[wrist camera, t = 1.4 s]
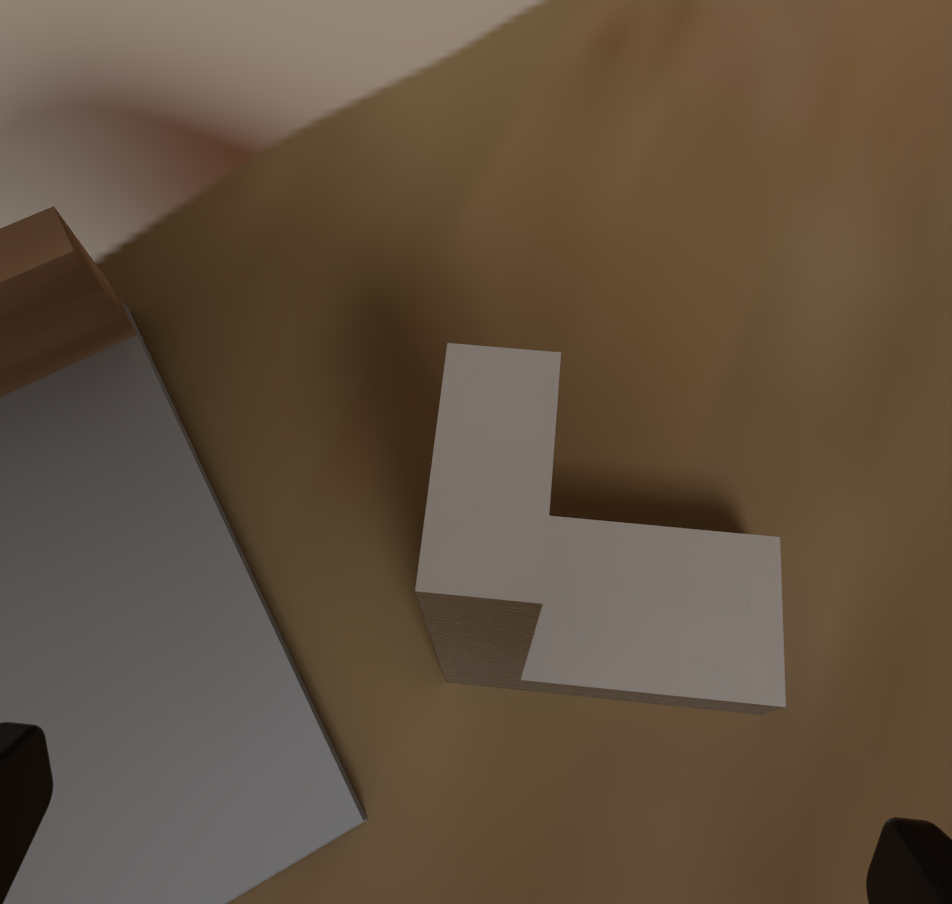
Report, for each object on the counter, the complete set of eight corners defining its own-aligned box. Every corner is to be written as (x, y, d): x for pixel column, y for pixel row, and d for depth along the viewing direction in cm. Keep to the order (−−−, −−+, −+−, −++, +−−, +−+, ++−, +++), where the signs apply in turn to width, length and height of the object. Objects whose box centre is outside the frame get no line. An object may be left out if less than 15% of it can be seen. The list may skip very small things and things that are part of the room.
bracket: (761, 714, 21) (982, 647, 12) (445, 681, 21) (414, 591, 12) (757, 556, 22) (950, 385, 13) (463, 529, 23) (447, 343, 13)
